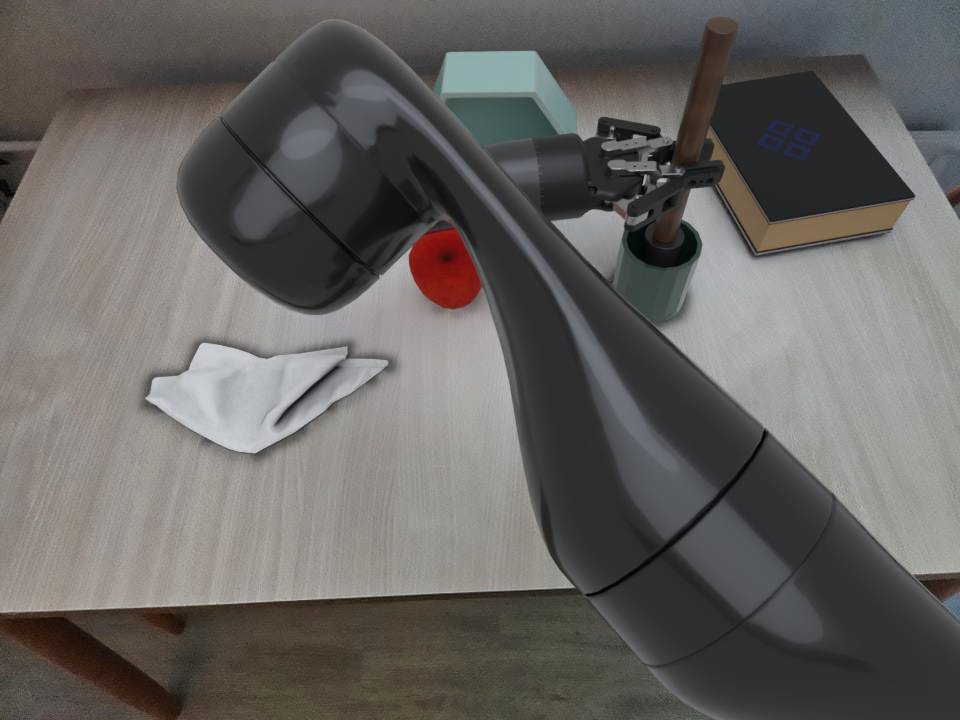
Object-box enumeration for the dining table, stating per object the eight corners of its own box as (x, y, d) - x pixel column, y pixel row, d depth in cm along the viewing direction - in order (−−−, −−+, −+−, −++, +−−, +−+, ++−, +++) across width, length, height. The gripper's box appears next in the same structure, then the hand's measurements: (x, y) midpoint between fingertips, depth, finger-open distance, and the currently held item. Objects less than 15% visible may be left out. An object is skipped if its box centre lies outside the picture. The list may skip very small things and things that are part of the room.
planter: (488, 236, 87) (384, 130, 74) (490, 196, 92) (392, 89, 78) (600, 183, 79) (507, 51, 65) (597, 141, 83) (508, 9, 69)
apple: (399, 295, 76) (389, 250, 70) (452, 255, 80) (447, 208, 73) (451, 337, 73) (445, 293, 66) (505, 293, 76) (504, 247, 69)
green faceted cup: (697, 306, 74) (718, 252, 66) (637, 334, 72) (652, 282, 64) (655, 259, 78) (670, 204, 70) (597, 284, 76) (607, 230, 69)
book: (795, 113, 92) (813, 70, 86) (888, 237, 78) (916, 195, 73) (679, 131, 91) (689, 89, 85) (752, 261, 77) (771, 220, 72)
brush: (677, 284, 70) (757, 36, 47) (641, 289, 70) (704, 42, 47) (667, 258, 73) (739, 8, 49) (632, 262, 72) (688, 13, 49)
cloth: (125, 447, 67) (114, 437, 65) (170, 339, 74) (161, 327, 72) (371, 461, 65) (366, 452, 63) (392, 349, 72) (389, 337, 70)
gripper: (544, 202, 52) (756, 178, 52) (519, 99, 59) (703, 79, 60) (541, 265, 58) (730, 243, 58) (518, 164, 66) (685, 146, 66)
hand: (715, 160), depth 59 cm, fingers closed on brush, 2 cm apart
